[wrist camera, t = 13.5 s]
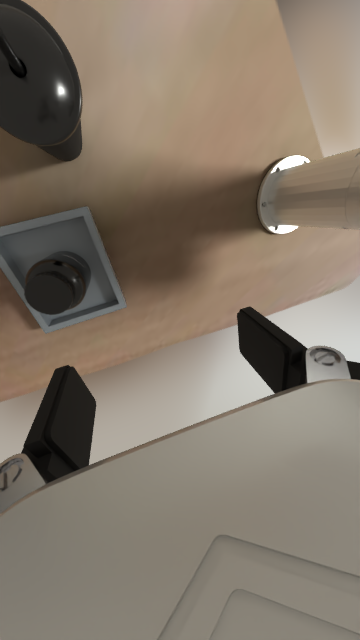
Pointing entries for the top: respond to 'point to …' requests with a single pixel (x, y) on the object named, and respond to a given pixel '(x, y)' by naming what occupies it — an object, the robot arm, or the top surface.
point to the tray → (53, 236)
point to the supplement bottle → (57, 283)
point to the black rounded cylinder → (38, 83)
